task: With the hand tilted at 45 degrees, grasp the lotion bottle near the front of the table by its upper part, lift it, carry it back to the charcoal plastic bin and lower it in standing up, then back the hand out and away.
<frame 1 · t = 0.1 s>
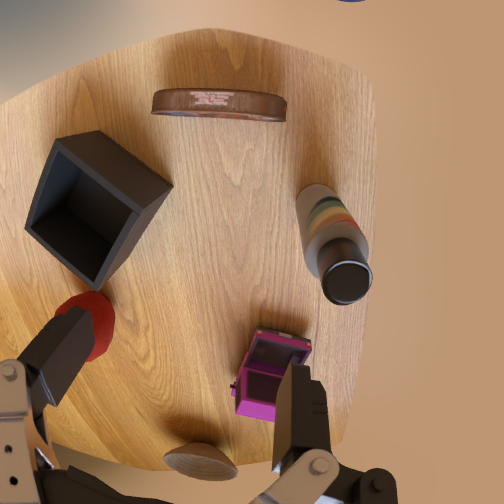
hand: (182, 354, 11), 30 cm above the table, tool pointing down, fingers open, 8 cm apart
tin: (224, 105, 34), on the table
toy truck: (269, 359, 51), on the table
apple: (102, 303, 49), on the table
bin: (112, 196, 40), on the table
bowl: (204, 444, 67), on the table
lotion bottle: (317, 204, 39), on the table
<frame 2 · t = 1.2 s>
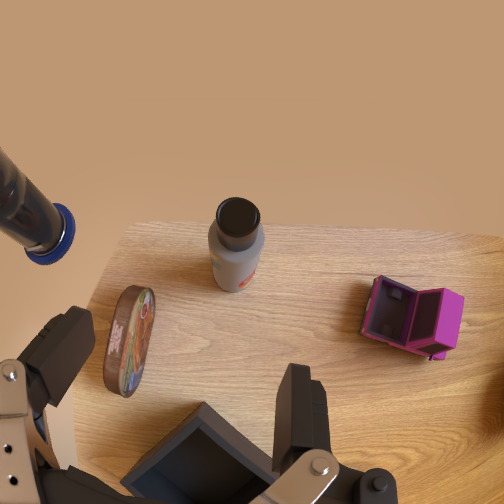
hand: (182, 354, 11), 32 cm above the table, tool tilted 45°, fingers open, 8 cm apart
tin: (138, 342, 40), on the table
toy truck: (402, 322, 44), on the table
bin: (207, 463, 35), on the table
lotion bottle: (233, 274, 45), on the table
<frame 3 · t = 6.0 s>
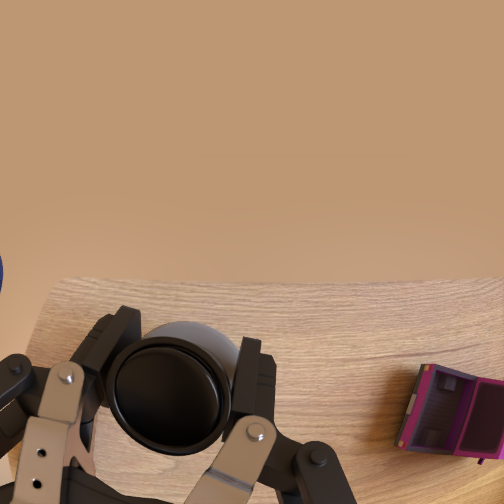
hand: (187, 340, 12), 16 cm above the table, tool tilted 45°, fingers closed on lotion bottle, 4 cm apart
toy truck: (449, 413, 26), on the table
lotion bottle: (206, 367, 26), on the table, touching gripper
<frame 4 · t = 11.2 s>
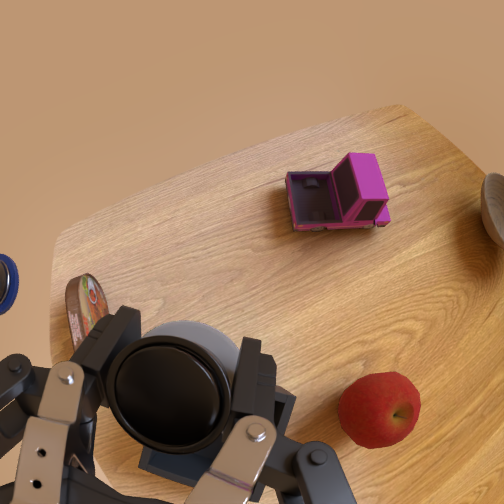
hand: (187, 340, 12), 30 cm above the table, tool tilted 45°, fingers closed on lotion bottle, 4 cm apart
tin: (103, 332, 40), on the table
toy truck: (333, 207, 49), on the table
apple: (357, 402, 39), on the table
bin: (217, 418, 37), on the table
bowl: (489, 227, 51), on the table
lotion bottle: (206, 366, 27), point 14 cm above the table, touching gripper
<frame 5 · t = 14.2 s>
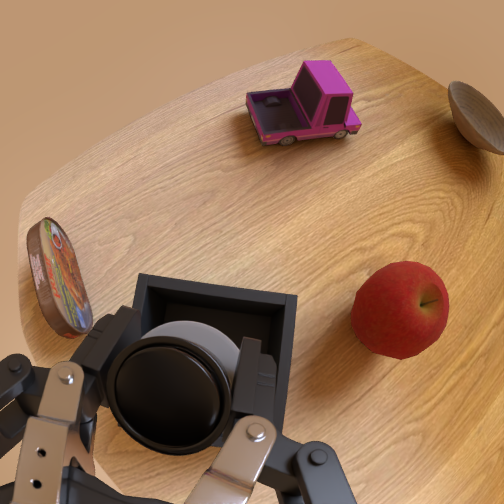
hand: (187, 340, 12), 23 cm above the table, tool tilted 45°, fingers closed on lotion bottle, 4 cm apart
tin: (73, 284, 35), on the table
toy truck: (300, 123, 45), on the table
apple: (371, 319, 36), on the table
bin: (211, 361, 33), on the table
bowl: (465, 135, 49), on the table
lotion bottle: (206, 366, 26), point 7 cm above the table, touching gripper
when the fingers open (17 cm above the table, at t = 16.3 s): lotion bottle stays where it is, resting on bin.
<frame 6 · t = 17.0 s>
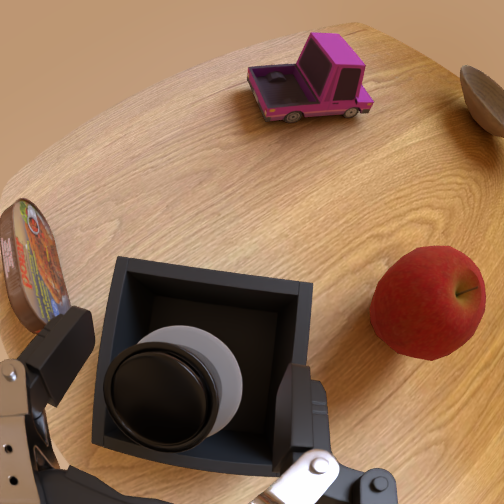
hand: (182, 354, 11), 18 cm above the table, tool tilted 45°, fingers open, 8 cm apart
tin: (52, 276, 29), on the table
toy truck: (306, 101, 40), on the table
apple: (391, 315, 31), on the table
bin: (207, 366, 28), on the table
bowl: (478, 122, 44), on the table
lotion bottle: (205, 368, 27), point 1 cm above the table, touching bin
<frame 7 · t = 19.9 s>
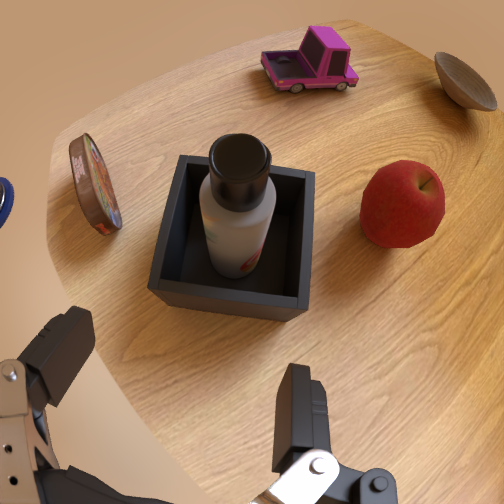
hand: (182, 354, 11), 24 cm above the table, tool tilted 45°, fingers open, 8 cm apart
tin: (104, 198, 39), on the table
toy truck: (306, 78, 49), on the table
apple: (378, 228, 40), on the table
bin: (235, 257, 37), on the table
bowl: (453, 99, 54), on the table
lotion bottle: (234, 256, 36), point 1 cm above the table, touching bin
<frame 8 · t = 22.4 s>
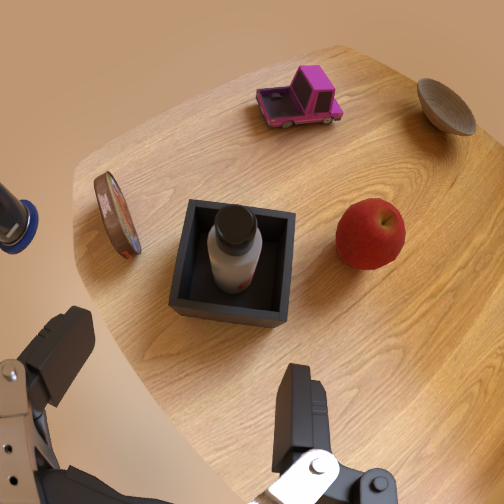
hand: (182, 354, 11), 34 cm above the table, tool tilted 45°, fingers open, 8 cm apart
tin: (124, 225, 48), on the table
toy truck: (296, 112, 59), on the table
apple: (352, 250, 50), on the table
bin: (233, 276, 47), on the table
bowl: (434, 122, 63), on the table
lotion bottle: (232, 276, 46), point 1 cm above the table, touching bin
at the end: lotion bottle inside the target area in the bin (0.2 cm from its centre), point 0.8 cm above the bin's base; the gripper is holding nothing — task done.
